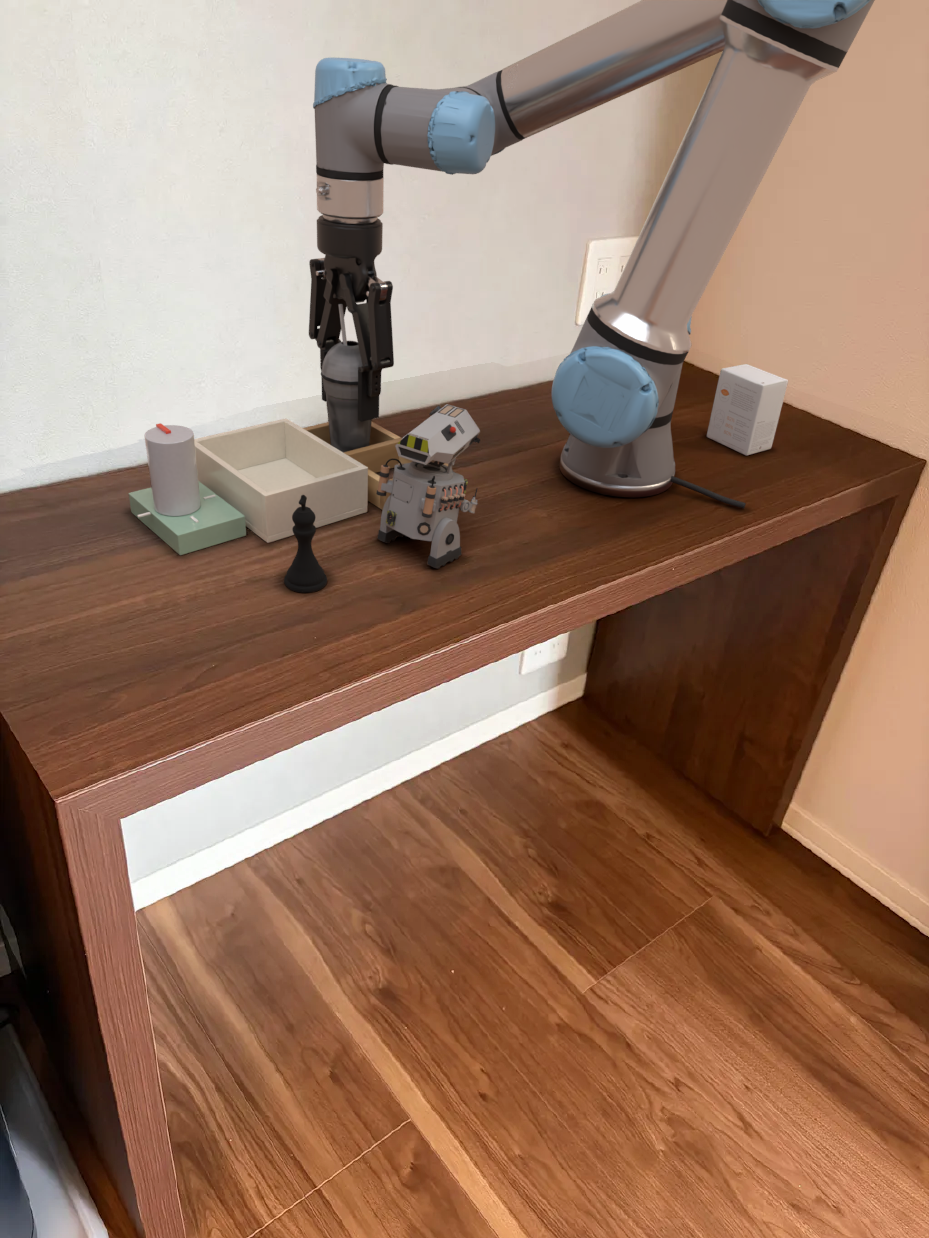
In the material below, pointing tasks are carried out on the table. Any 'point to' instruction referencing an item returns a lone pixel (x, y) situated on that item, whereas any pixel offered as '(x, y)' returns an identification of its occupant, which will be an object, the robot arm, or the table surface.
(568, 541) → the table surface
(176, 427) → the tap knob
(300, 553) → the chess piece
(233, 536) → the green dial base plate
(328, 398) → the beverage cup
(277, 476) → the cream open storage tray
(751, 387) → the small box
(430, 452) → the figurine
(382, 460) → the wooden compartment tray
